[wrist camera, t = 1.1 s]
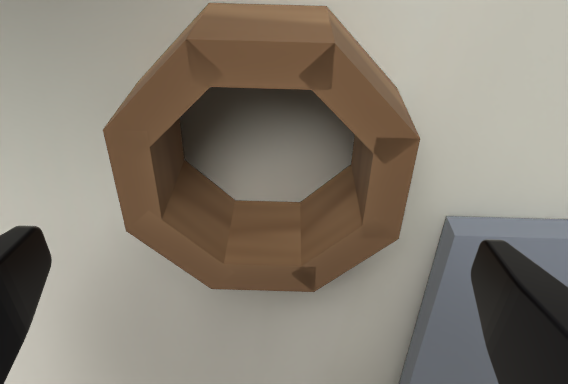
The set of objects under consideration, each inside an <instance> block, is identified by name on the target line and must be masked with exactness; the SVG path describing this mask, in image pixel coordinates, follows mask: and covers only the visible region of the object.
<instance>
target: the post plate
mask: <svg viewBox="0 0 568 384" xmlns="http://www.w3.org/2000/svg"><path fill="white" fill-rule="evenodd" d="M485 239H492V240H504V241H506V242H507V243H509V244H510V245H511V246H513V247H514V248H516V249H517V250H518V251H520V252H521V253H522V254H524V255H525V256H526V257H528V258H529V259H530V260H532V261H533V262H535V263H536V264H537V265H539V266H540V267H541V268H543V269H544V270H545V271H547V272H548V273H549V274H551V275H552V276H554V277H555V278H556V279H558V280H559V281H560V282H562V283H563V284H564V285H566V286H567V287H568V220H565V219H529V218H494V217H459V216H446V220H445V223H444V227H443V230H442V234H441V237H440V241H439V244H438V248H437V251H436V255H435V258H434V262H433V266H432V269H431V273H430V276H429V280H428V283H427V287H426V290H425V294H424V297H423V301H422V304H421V308H420V311H419V315H418V318H417V322H416V326H415V329H414V333H413V336H412V340H411V343H410V347H409V350H408V354H407V357H406V361H405V364H404V368H403V371H402V375H401V378H400V382H399V384H498V381H497V378H496V375H495V372H494V369H493V366H492V363H491V361H490V358H489V354H488V351H487V348H486V344H485V340H484V336H483V332H482V328H481V323H480V318H479V314H478V309H477V305H476V300H475V296H474V291H473V287H472V282H471V268H472V265H473V262H474V259H475V256H476V253H477V250H478V248H479V245H480V243H481V242H482V241H483V240H485Z"/></svg>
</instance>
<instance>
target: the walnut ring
mask: <svg viewBox="0 0 568 384" xmlns="http://www.w3.org/2000/svg"><path fill="white" fill-rule="evenodd" d="M210 87H231V88H268V89H304V90H312V91H313V92H314V93H315V94H316V95H317V96H318V97H319V98H320V99H321V100H322V101H323V102H324V103H325V104H326V105H327V106H328V107H329V108H330V109H331V110H332V111H333V112H334V113H335V114H336V116H337V117H338V118H339V119H340V120H341V121H342V122H343V123H344V124H345V125H346V126H347V127H348V128H349V129H350V130H351V131H352V132H353V133H354V134H355V136H354V144H353V153H352V161H351V165H350V166H348V167H347V168H346V169H344V170H343V171H342V172H340V173H339V174H338V175H336V176H335V177H334V178H332V179H331V180H330V181H328V182H327V183H325V184H324V185H323V186H321V187H320V188H319V189H317V190H316V191H315V192H313V193H312V194H311V195H309V196H308V197H307V198H305V199H304V200H303V201H301V202H270V201H235V200H234V199H233V198H231V197H230V196H229V195H228V194H226V193H225V192H224V191H223V190H221V189H220V188H219V187H218V186H217V185H215V184H214V183H213V182H212V181H210V180H209V179H208V178H207V177H205V176H204V175H203V174H202V173H200V172H199V171H198V170H197V169H195V168H194V167H193V166H192V165H190V164H189V163H188V162H187V161H185V160H184V152H183V143H182V135H181V127H180V117H181V116H182V115H183V114H184V113H185V112H186V111H187V110H188V109H189V108H190V107H191V106H192V105H193V104H194V103H195V102H196V101H197V100H198V99H199V98H200V97H201V96H202V95H203V94H204V93H205V92H206V91H207V90H208V89H209V88H210ZM103 132H104V137H105V141H106V145H107V150H108V154H109V159H110V163H111V167H112V172H113V176H114V180H115V185H116V189H117V193H118V198H119V202H120V207H121V211H122V215H123V220H124V224H125V228H126V231H127V232H128V233H130V234H131V235H133V236H134V237H136V238H137V239H139V240H140V241H142V242H143V243H145V244H146V245H147V246H149V247H150V248H152V249H153V250H155V251H156V252H158V253H159V254H161V255H162V256H164V257H165V258H167V259H168V260H170V261H171V262H173V263H174V264H175V265H177V266H178V267H180V268H181V269H183V270H184V271H186V272H187V273H189V274H190V275H192V276H193V277H195V278H196V279H198V280H199V281H201V282H202V283H203V284H205V285H206V286H208V287H209V288H211V289H233V290H267V291H302V292H315V291H316V290H318V289H319V288H321V287H323V286H324V285H326V284H327V283H329V282H331V281H332V280H334V279H335V278H337V277H338V276H340V275H342V274H343V273H345V272H346V271H348V270H350V269H351V268H353V267H354V266H356V265H358V264H359V263H361V262H362V261H364V260H366V259H367V258H369V257H370V256H372V255H374V254H375V253H377V252H378V251H380V250H382V249H383V248H385V247H386V246H388V245H390V244H391V243H393V242H394V241H396V240H397V239H399V234H400V230H401V225H402V221H403V216H404V211H405V207H406V202H407V197H408V193H409V188H410V183H411V179H412V174H413V169H414V165H415V160H416V155H417V151H418V146H419V142H420V137H419V135H418V133H417V131H416V129H415V126H414V124H413V122H412V120H411V118H410V115H409V113H408V111H407V109H406V107H405V105H404V102H403V100H402V98H401V96H400V94H399V91H398V89H397V87H396V86H395V85H394V84H393V83H392V82H391V80H390V79H389V78H388V77H387V76H386V75H385V73H384V72H383V71H382V70H381V69H380V68H379V66H378V65H377V64H376V63H375V62H374V61H373V60H372V58H371V57H370V56H369V55H368V54H367V53H366V51H365V50H364V49H363V48H362V47H361V46H360V44H359V43H358V42H357V41H356V40H355V39H354V37H353V36H352V35H351V34H350V33H349V32H348V31H347V29H346V28H345V27H344V26H343V25H342V24H341V22H340V21H339V20H338V19H337V18H336V17H335V15H334V14H333V13H332V12H331V11H330V10H329V8H328V7H327V6H301V5H264V4H226V3H208V5H207V6H206V7H205V8H204V9H203V10H202V11H201V13H200V14H199V15H198V16H197V17H196V18H195V19H194V20H193V21H192V22H191V24H190V25H189V26H188V27H187V28H186V29H185V30H184V31H183V32H182V34H181V35H180V36H179V37H178V38H177V39H176V40H175V41H174V42H173V44H172V45H171V46H170V47H169V48H168V49H167V50H166V51H165V52H164V54H163V55H162V56H161V57H160V58H159V59H158V60H157V61H156V62H155V63H154V65H153V66H152V67H151V68H150V69H149V70H148V71H147V72H146V73H145V75H144V76H143V77H142V78H141V79H140V80H139V81H138V82H137V84H136V85H135V87H134V88H133V89H132V91H131V92H130V93H129V95H128V96H127V98H126V99H125V100H124V102H123V103H122V104H121V106H120V107H119V108H118V110H117V111H116V113H115V114H114V115H113V117H112V118H111V119H110V121H109V122H108V124H107V125H106V126H105V128H104V129H103Z"/></svg>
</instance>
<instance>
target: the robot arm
mask: <svg viewBox="0 0 568 384" xmlns="http://www.w3.org/2000/svg"><path fill="white" fill-rule="evenodd" d="M50 267H51V254H50V251H49V249H48V246H47V243H46V241H45V238H44V235H43V232H42V230H41V229H40V228H39V227H36V226H16V227H14V228H12V229H11V230H9V231H7V232H5V233H4V234H2V235H0V384H4V382H5V380H6V378H7V376H8V374H9V371H10V369H11V367H12V365H13V363H14V361H15V359H16V357H17V355H18V353H19V350H20V348H21V346H22V344H23V342H24V340H25V337H26V335H27V333H28V330H29V328H30V325H31V323H32V320H33V317H34V314H35V311H36V308H37V305H38V302H39V300H40V297H41V294H42V291H43V288H44V285H45V282H46V279H47V276H48V274H49V271H50ZM471 282H472V287H473V291H474V296H475V300H476V305H477V309H478V314H479V318H480V323H481V328H482V332H483V336H484V340H485V344H486V348H487V351H488V354H489V358H490V361H491V363H492V366H493V369H494V372H495V375H496V378H497V381H498V384H568V287H567V286H566V285H564V284H563V283H562V282H560V281H559V280H558V279H556V278H555V277H554V276H552V275H551V274H549V273H548V272H547V271H545V270H544V269H543V268H541V267H540V266H539V265H537V264H536V263H535V262H533V261H532V260H530V259H529V258H528V257H526V256H525V255H524V254H522V253H521V252H520V251H518V250H517V249H516V248H514V247H513V246H511V245H510V244H509V243H507V242H506V241H504V240H492V239H485V240H483V241H482V242H481V243H480V245H479V248H478V250H477V253H476V256H475V259H474V262H473V265H472V268H471Z"/></svg>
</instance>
